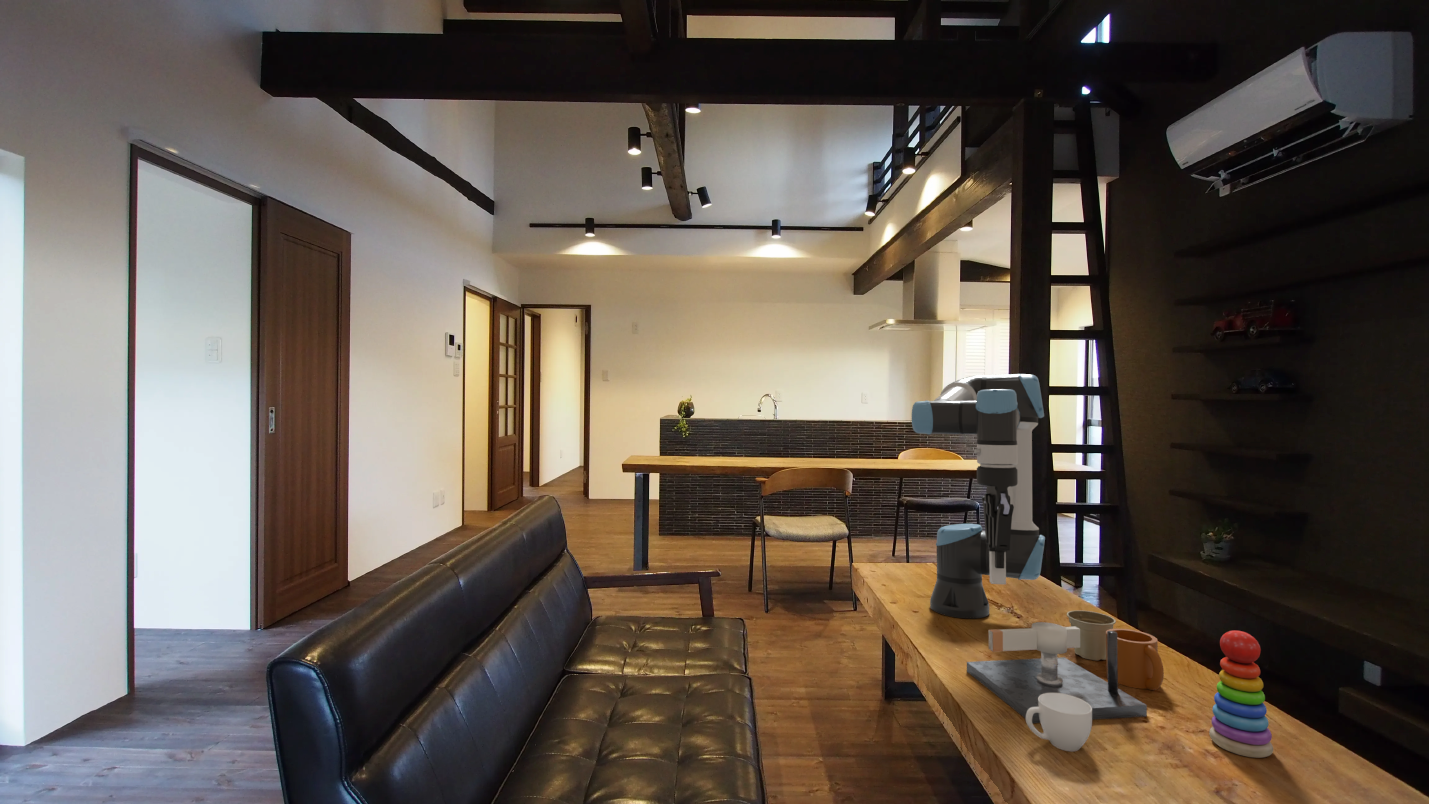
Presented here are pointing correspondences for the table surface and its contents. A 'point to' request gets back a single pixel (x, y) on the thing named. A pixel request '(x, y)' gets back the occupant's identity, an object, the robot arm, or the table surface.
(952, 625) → the table surface
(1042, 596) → the table surface
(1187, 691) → the table surface
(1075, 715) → the cup
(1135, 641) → the mug
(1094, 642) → the flower pot
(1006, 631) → the white lever
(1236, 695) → the stacking toy
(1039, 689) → the base plate
